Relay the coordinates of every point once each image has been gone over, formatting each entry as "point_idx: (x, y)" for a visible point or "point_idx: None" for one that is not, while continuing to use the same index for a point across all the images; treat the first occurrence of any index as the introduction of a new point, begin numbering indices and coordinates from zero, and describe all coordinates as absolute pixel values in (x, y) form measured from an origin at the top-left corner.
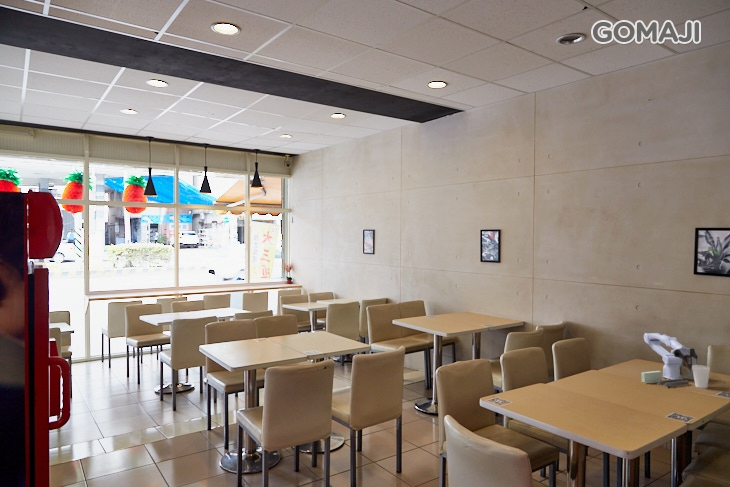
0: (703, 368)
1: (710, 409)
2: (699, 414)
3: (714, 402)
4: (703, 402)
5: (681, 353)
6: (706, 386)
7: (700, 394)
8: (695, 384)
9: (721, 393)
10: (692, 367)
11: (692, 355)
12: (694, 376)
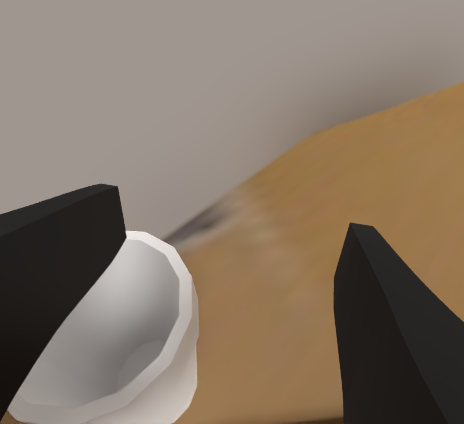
0: (151, 236)
1: (392, 112)
2: (455, 91)
3: (326, 152)
4: (373, 157)
5: (404, 298)
6: (154, 335)
7: (308, 237)
8: (191, 398)
9: (182, 233)
10: (182, 351)
11: (18, 338)
12: (192, 370)
